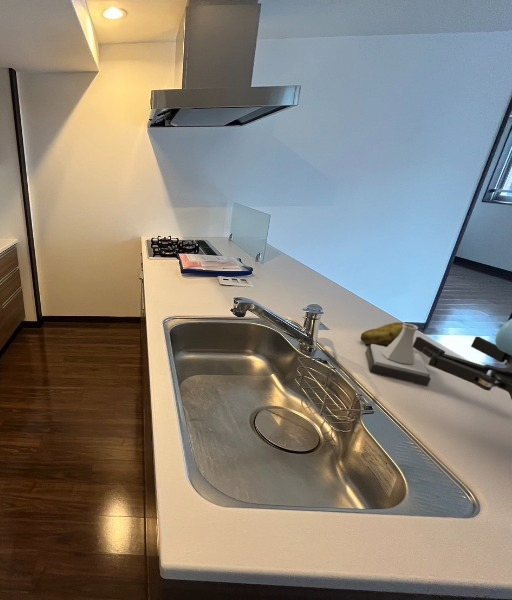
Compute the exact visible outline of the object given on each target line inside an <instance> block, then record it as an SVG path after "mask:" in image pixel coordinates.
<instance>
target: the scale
mask: <svg viewBox="0 0 512 600" xmlns="http://www.w3.org/2000/svg"><path fill="white" fill-rule="evenodd" d="M386 347H387V346H385V345H376V344H371V345H367V347H366V350H365V356H366V360H367V365H368V371H369V373H371V374H375V375H378V376H384V377H387V378H390V379H391V378H392V379H395V380H399V381H402V382H403V381H404V382H407V383H412V384H416V385H420V386H424V387H428V386H429V384H430V381H431V379H432V378H431V377H430V376H431V374H430V372H429V370H428V368H427V366H426V364H425V362H424V361H423V358H422V357H421V354H420V353H417V352H414V354H415V362H414V364H405V363H399V362H396V361H393V360H390V359H387V358H386V357H385V356H384V355H383V354H382V352H383V351H384V349H385V348H386Z"/></svg>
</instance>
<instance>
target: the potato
mask: <svg viewBox="0 0 512 600" xmlns="http://www.w3.org/2000/svg"><path fill="white" fill-rule="evenodd" d="M404 323H405V322H392V323H389V324H384V325H382V326H378V327H377V328H371V329H368V330H365V331H364V332H362V333H361V334H360V340H361V342H362V343H364V344H366V345H368V346H371V344H375V345H379V346H386V345H387V346H389V345H390V344H391V343H392V342H393V341H394V340H395V339H396V338H397V337H398V336H399V334H400V333H401V331H402V329H403V327H402V325H403V324H404Z"/></svg>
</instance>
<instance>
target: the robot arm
mask: <svg viewBox="0 0 512 600" xmlns="http://www.w3.org/2000/svg"><path fill="white" fill-rule="evenodd" d="M494 341H495V343H493V342H491V341H488V340H486V339H485V338H483V337H480V336H474V339H473V341H472V343H471V345H470V348H472V349H475V350H477V351H478V352H480V353H482V354H484V355H486V356H488V357H490V358H492V359H493V360H496V361H498V362H500V363H504V366H506V367H497V366H495V365H491V364H480V363H477V362H474V361H470V360H467V359H463V358H460V357H457V356H454V355H450V354H447V353H446V351H445V350H444V349H442V348H439V347H438V346H436V345H435V344H433V343H431V342H430V341H428V340H426V339H424V338H423V337H421V336H416V337H415V339H414V341H413V343H414V345H413V347H414V349H416V350H417V351H419V352H420V353H422V354H423V355H425V356H426V357H427V358H430V359H429V361H428V363H427V364H428V366H430V367H432V368H434V369H437V370H439V371H442V372H445V373H447V374H449V375H452V376H454V377H457V378H458V379H461V380H463V381H466V382H468V383H471V384H473V385H475V386H477V387H478V388H481V389H482V390H485V391H488V392H490V391H491V390H492V389H493V388H498V389H500V390H503V391H506V392H507V393H508V395H509V396H510V399H511V400H512V318H510V319H509V320H507V321H506V322H505V323H504V324H503V325H502V326H501V327H500V328H499V330H498V331H497V333H496V335H495V340H494ZM505 361H506V362H505ZM489 371H490V373H489V374H488V372H489Z"/></svg>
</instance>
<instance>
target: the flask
mask: <svg viewBox="0 0 512 600" xmlns="http://www.w3.org/2000/svg"><path fill="white" fill-rule="evenodd" d="M403 323H404V324H403V325H402V327H403V329H402V331H401V333H400V334H399V336H398V337H397V338H396V339H395V340H394V341H393V342H392V343H391V344H388V345H387V346H385V347H386V348H385V349H384V351H383V352H382V354H383V355H384V356H385V357H386V358H387V359H390V360H393V361H396V362H399V363H405V364H414V362H415V354H414V353H415V348H414V347H413V345H414V338H415V334H416V333H415V332H416V331H418V329H419V327H418V326H417V325H416V324H411V323H405V322H403Z"/></svg>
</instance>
